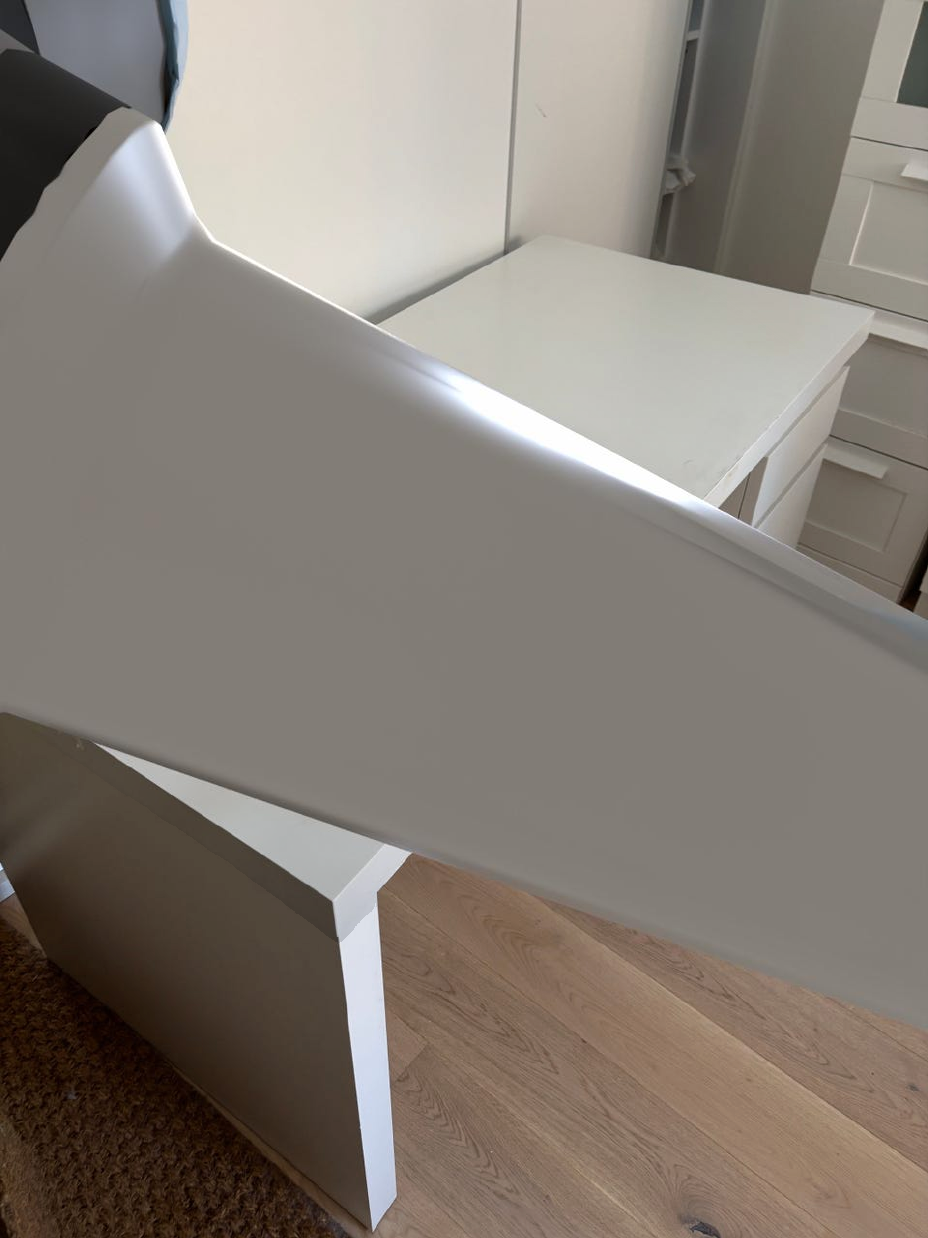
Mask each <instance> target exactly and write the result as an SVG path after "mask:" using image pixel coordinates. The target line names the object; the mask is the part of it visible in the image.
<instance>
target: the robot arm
mask: <svg viewBox="0 0 928 1238" xmlns="http://www.w3.org/2000/svg"><path fill="white" fill-rule="evenodd" d="M189 26H190V25H189V7H188V0H0V714H1V713H8V714H9V715H13V716H16V717H19V718H22V719H25V720H28V721H30V722H33V723H35V724H39V725H42V726H44V727H48V728H50V729H54V730H57V731H59V732H62V733H65V734H67V735H71V736H73V737H76V738H78V739H82V740H85V741H88V742H91V743H94V744H96V745H100V746H102V747H105V748H108V749H110V750H114V751H117V752H119V753H122V754H125V755H128V756H131V757H134V758H137V759H140V760H143V761H144V762H148V763H151V764H154V765H157V766H160V767H163V768H166V769H169V770H171V771H174V772H178V773H180V774H183V775H187V776H188V777H192V778H195V779H197V780H201V781H203V782H207V783H209V784H213V785H215V786H218V787H221V788H224V789H227V790H230V791H233V792H236V793H238V794H241V795H244V796H246V797H250V798H253V799H255V800H258V801H262V802H265V803H267V804H270V805H273V806H276V807H278V808H281V809H285V810H287V811H290V812H293V813H296V814H299V815H301V816H304V817H308V818H310V819H313V820H316V821H319V822H322V823H325V824H327V825H330V826H334V827H336V828H339V829H343V830H345V831H348V832H350V833H354V834H357V835H359V836H362V837H365V838H369V839H371V840H374V841H377V842H380V843H382V844H386V845H388V846H391V847H394V848H397V849H400V850H403V851H406V852H409V853H411V854H414V855H417V856H420V857H423V858H426V859H428V860H431V861H434V862H437V863H441V864H443V865H446V866H449V867H452V868H454V869H457V870H460V871H463V872H466V873H469V874H472V875H475V876H478V877H479V878H483V879H487V880H489V881H492V882H495V883H497V884H501V885H504V886H507V887H509V888H511V889H515V890H518V891H521V892H524V893H527V894H530V895H533V896H536V897H539V898H541V899H543V900H547V901H550V902H553V903H556V904H559V905H562V906H564V907H567V908H570V909H574V910H576V911H579V912H582V913H584V914H587V915H591V916H593V917H596V918H598V919H602V920H605V921H607V922H611V923H614V924H615V925H618V926H623V927H625V928H628V929H631V930H634V931H637V932H640V933H643V934H645V935H648V936H650V937H653V938H657V939H660V940H662V941H666V942H667V943H671V944H674V945H676V946H680V947H683V948H685V949H689V950H691V951H694V952H697V953H700V954H704V955H706V956H709V957H712V958H714V959H717V960H720V961H723V962H726V963H729V964H732V965H735V966H737V967H741V968H743V969H746V970H750V971H752V972H755V973H758V974H761V975H764V976H767V977H769V978H772V979H775V980H778V981H781V982H784V983H787V984H790V985H792V986H795V987H798V988H801V989H804V990H806V991H810V992H813V993H815V994H818V995H822V996H824V997H827V998H830V999H833V1000H835V1001H838V1002H841V1003H845V1004H847V1005H850V1006H853V1007H856V1008H859V1009H862V1010H865V1011H867V1012H870V1013H874V1014H876V1015H878V1016H882V1017H885V1018H888V1019H890V1020H894V1021H896V1022H899V1023H902V1024H905V1025H908V1026H910V1027H914V1028H917V1029H920V1030H923V1031H925V1032H928V620H927V619H926V618H923V617H922V616H920V615H918V614H916V613H914V612H912V611H910V610H908V609H907V608H905V607H903V606H901V605H899V604H898V603H896V602H894V601H891V600H890V599H888V598H886V597H884V596H883V595H881V594H878V593H877V592H875V591H873V590H871V589H869V588H868V587H865V586H863V585H862V584H860V583H858V582H856V581H855V580H853V579H851V578H849V577H846V576H845V575H843V574H842V573H839V572H838V571H835V570H834V569H832V568H830V567H828V566H826V565H824V564H822V563H820V562H819V561H817V560H815V559H813V558H812V557H809V556H807V555H806V554H804V553H802V552H800V551H798V550H796V549H794V548H792V547H791V546H789V545H787V544H785V543H783V542H782V541H779V540H777V539H776V538H774V537H772V536H771V535H768V534H767V533H764V532H763V531H761V530H760V529H757V528H755V527H753V526H751V525H749V524H748V523H746V522H744V521H742V520H740V519H739V518H736V517H734V516H733V515H730V514H729V513H727V512H725V511H723V510H721V509H719V508H718V507H716V506H714V505H712V504H710V503H708V502H707V501H704V500H702V499H701V498H699V497H697V496H695V495H693V494H691V493H690V492H689V491H686V490H684V489H682V488H680V487H679V486H676V485H675V484H672V483H671V482H669V481H667V480H666V479H663V478H661V477H659V476H658V475H656V474H654V473H653V472H650V471H649V470H647V469H645V468H643V467H641V466H639V465H638V464H635V463H633V462H631V461H630V460H628V459H626V458H624V457H623V456H621V455H619V454H617V453H614V452H613V451H611V450H609V449H607V448H605V447H604V446H601V445H600V444H598V443H597V442H595V441H593V440H590V439H589V438H587V437H584V436H583V435H581V434H579V433H578V432H575V431H573V430H571V429H570V428H568V427H566V426H564V425H562V424H560V423H559V422H556V421H555V420H553V419H551V418H549V417H547V416H546V415H543V414H542V413H540V412H538V411H536V410H534V409H533V408H531V407H529V406H527V405H525V404H523V403H521V402H520V401H518V400H515V399H514V398H512V397H510V396H508V395H506V394H504V393H503V392H500V391H498V390H497V389H495V388H493V387H491V386H489V385H488V384H486V383H484V382H482V381H480V380H478V379H477V378H474V377H472V376H470V375H469V374H467V373H465V372H463V371H461V370H459V369H457V368H455V367H454V366H452V365H450V364H449V363H446V362H444V361H442V360H441V359H439V358H437V357H435V356H433V355H431V354H430V353H428V352H426V351H424V350H422V349H420V348H418V347H416V346H415V345H413V344H410V343H409V342H408V341H405V340H403V339H401V338H400V337H398V336H396V335H395V334H392V333H390V332H388V331H386V330H385V329H383V328H381V327H379V326H377V325H375V324H374V323H371V322H370V321H368V320H366V319H365V318H362V317H361V316H358V315H357V314H354V312H351V311H349V310H347V309H345V308H344V307H342V306H340V305H338V304H336V303H334V302H332V301H330V300H329V299H327V298H325V297H323V296H321V295H319V294H317V293H315V292H314V291H312V290H310V289H308V288H306V287H305V286H303V285H300V284H298V283H296V282H295V281H294V280H292V279H289V278H287V277H286V276H284V275H282V274H280V273H278V272H276V271H274V270H273V269H270V268H268V267H267V266H265V265H263V264H261V263H259V262H257V261H255V260H254V259H252V258H250V257H248V256H246V255H244V254H243V253H240V252H239V251H237V250H236V249H233V248H231V247H229V246H228V245H226V244H224V243H222V242H219V241H218V240H216V239H215V238H214V236H213V235H212V233H211V232H210V231H209V230H208V228H207V227H206V226H205V224H204V223H203V222H202V221H201V219H200V218H199V217H198V215H197V213H196V210H195V209H194V206H193V203H192V201H191V197H190V195H189V194H188V191H187V188H186V185H185V182H184V181H183V178H182V176H181V173H180V170H179V167H178V165H177V162H176V160H175V158H174V155H173V153H172V150H171V147H170V145H169V143H168V140H167V138H166V135H167V132H168V130H169V128H170V125H171V122H172V120H173V117H174V108H175V106H176V103H177V100H178V98H179V95H180V91H181V89H182V88H181V87H182V84H183V80H184V77H185V76H184V75H185V70H186V66H187V58H188V49H189Z"/></svg>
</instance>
